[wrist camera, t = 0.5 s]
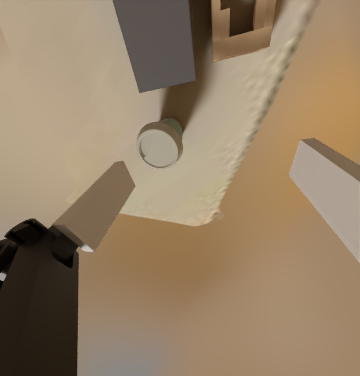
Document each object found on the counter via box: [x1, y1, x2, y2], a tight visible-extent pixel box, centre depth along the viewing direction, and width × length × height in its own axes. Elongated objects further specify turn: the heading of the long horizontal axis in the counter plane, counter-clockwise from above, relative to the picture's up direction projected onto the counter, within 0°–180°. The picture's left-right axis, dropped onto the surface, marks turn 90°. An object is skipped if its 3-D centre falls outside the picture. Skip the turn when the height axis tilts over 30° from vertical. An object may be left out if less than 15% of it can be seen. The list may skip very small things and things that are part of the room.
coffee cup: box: [136, 117, 183, 170], centre depth 29 cm, size 8×8×12 cm
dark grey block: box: [113, 0, 197, 93], centre depth 20 cm, size 15×9×8 cm, turn 10°
